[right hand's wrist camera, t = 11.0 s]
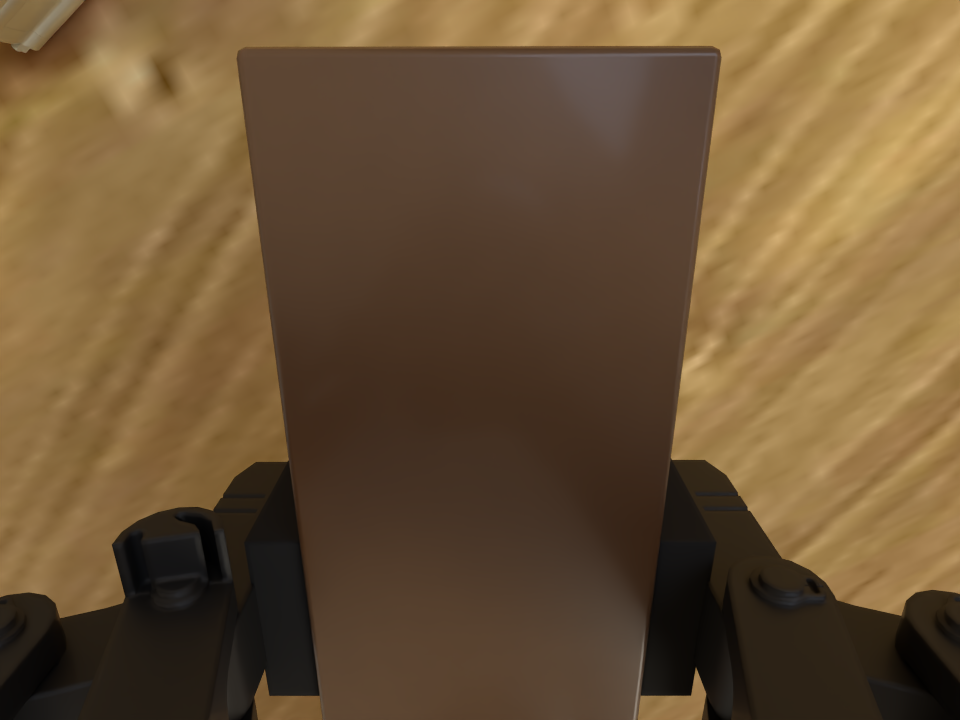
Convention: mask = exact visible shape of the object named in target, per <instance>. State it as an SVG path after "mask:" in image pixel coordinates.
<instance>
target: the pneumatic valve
mask: <svg viewBox="0 0 960 720" xmlns="http://www.w3.org/2000/svg"><path fill="white" fill-rule="evenodd" d="M84 1H85V0H0V42H4V43H11V46H12V47H13V49H15V50H16V51H18V52H21V51H22V52H24V53H26V52H27V51H28V50H29V49H33V50H36V51H38V50H40V48H41V47H42V46H43V45H44V44H45V43H46V42H47V41H48V40H49V39H50V38H51V37H52V36H53V34H54V33H55V32H56V31H57V30H58V29H59V28H60V27H61V26H62V25H63V24H64V23H65V22H66V20H67V19H68V18H69V17H70V16H71V15H72V14H73V13H74V12H75V11H76V10H77V9H78V8H79V6H80V5H81V4H82V3H83V2H84Z"/></svg>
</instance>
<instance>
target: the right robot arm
mask: <svg viewBox="0 0 960 720" xmlns="http://www.w3.org/2000/svg"><path fill="white" fill-rule="evenodd" d="M112 547H113V551H114V555H115V558H116V562H117V566H118V570H119V574H120V578H121V581H122V585H123V589H124V593H125V599H124V602H123V603H122V604H119V605H115V606H112V607H109V608H105V609H100V610H96V611H91V612H87V613H82V614H78V615H73V616H69V617H64V618H60V617H59V614H58V611H57V608H56V604H55V603H54V602H53V601H52V600H51V599H49V598H48V597H47V596H46V595H41V594H35V593H21V594H13V595H6V596H3V597H0V720H258V718H257V711H256V705H255V699H254V696H255V693H256V691H257V688H258V685H259V683H260V680H261V678H262V675H263V672H264V670H265V671H266V677H267V683H268V689H269V695H270V696H320V695H319V687H318V679H317V672H316V664H315V656H314V649H313V641H312V633H311V626H310V618H309V610H308V603H307V595H306V587H305V580H304V572H303V564H302V557H301V549H300V541H299V534H298V526H297V518H296V511H295V503H294V495H293V488H292V480H291V472H290V464H289V461H288V462H256V463H254V464H253V465H251V466H250V467H249V468H247V469H246V470H244V471H243V472H242V473H240V474H239V475H237V476H236V477H235V478H234V479H233V481H232V482H231V484H230V485H229V487H228V488H227V490H226V491H225V493H224V494H223V498H221V499H220V500H219V502H218V503H217V505H216V506H215V508H214V511H211V510H207V509H204V508H200V507H181V508H175V509H170V510H166V511H161V512H157V513H155V514H153V515H150V516H148V517H146V518H143V519H141V520H139V521H137V522H136V523H134V524H133V525H131V526H130V527H128V528H127V529H125V530H124V531H123V532H121V534H120V535H119V536H118V538H117V539H116V540H115V541H114V543H113V544H112ZM695 668H697V670H698V673H699V676H700V678H701V681H702V683H703V686H704V689H705V691H706V699H705V705H704V711H703V716H702V720H960V594H957V593H953V592H945V591H937V590H929V591H923V592H917V593H915V594H914V595H913V596H911V597H910V598H909V599H908V600H907V601H906V603H905V607H904V610H903V613H902V616H899V615H895V614H890V613H885V612H881V611H876V610H872V609H867V608H863V607H858V606H854V605H851V604H847V603H844V602H840V601H837V600H836V598H835V596H834V594H833V593H832V591H831V590H830V589H829V587H828V586H827V584H826V583H825V582H824V581H823V580H822V579H820V578H819V577H818V576H817V575H815V574H814V573H813V572H812V571H810V570H809V569H806V568H804V567H802V566H800V565H798V564H796V563H794V562H792V561H789V560H785V559H782V558H781V556H780V555H779V554H778V552H777V551H776V549H775V548H774V546H773V545H772V543H771V542H770V540H769V539H768V537H767V536H766V534H765V533H764V531H763V530H762V528H761V527H760V525H759V524H758V522H757V521H756V519H755V518H754V516H753V515H752V513H751V512H750V511H748V509H747V506H746V504H745V503H744V501H743V500H742V498H741V497H740V496H738V492H737V491H736V489H735V488H734V486H733V485H732V483H731V482H730V480H729V479H728V477H727V476H726V475H725V474H724V473H722V472H721V471H719V470H718V469H717V468H715V467H714V466H712V465H711V464H710V463H708V462H707V461H705V460H672V459H671V460H670V468H669V475H668V483H667V491H666V499H665V507H664V515H663V523H662V531H661V539H660V547H659V554H658V562H657V570H656V578H655V586H654V594H653V602H652V610H651V618H650V625H649V633H648V641H647V649H646V657H645V665H644V673H643V681H642V689H641V696H691V692H692V686H693V680H694V674H695Z"/></svg>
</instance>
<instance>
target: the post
mask: <svg viewBox="0 0 960 720" xmlns="http://www.w3.org/2000/svg"><path fill="white" fill-rule="evenodd" d="M237 65H238V73H239V81H240V88H241V96H242V104H243V111H244V119H245V127H246V134H247V142H248V150H249V157H250V165H251V173H252V180H253V188H254V196H255V203H256V211H257V219H258V227H259V234H260V242H261V250H262V257H263V265H264V273H265V280H266V288H267V296H268V303H269V311H270V319H271V326H272V334H273V342H274V349H275V357H276V365H277V372H278V380H279V388H280V395H281V403H282V411H283V418H284V426H285V434H286V441H287V449H288V457H289V464H290V472H291V480H292V488H293V495H294V503H295V511H296V518H297V526H298V534H299V541H300V549H301V557H302V564H303V572H304V580H305V587H306V595H307V603H308V610H309V618H310V626H311V633H312V641H313V649H314V656H315V664H316V672H317V679H318V687H319V695H320V702H321V710H322V718H323V720H638V712H639V704H640V697H641V689H642V681H643V673H644V665H645V657H646V649H647V641H648V633H649V625H650V618H651V610H652V602H653V594H654V586H655V578H656V570H657V562H658V554H659V547H660V539H661V531H662V523H663V515H664V507H665V499H666V491H667V483H668V475H669V468H670V460H671V452H672V444H673V436H674V428H675V420H676V412H677V404H678V396H679V389H680V381H681V373H682V365H683V357H684V349H685V341H686V333H687V325H688V317H689V310H690V302H691V294H692V286H693V278H694V270H695V262H696V254H697V246H698V238H699V231H700V223H701V215H702V207H703V199H704V191H705V183H706V175H707V167H708V159H709V152H710V144H711V136H712V128H713V120H714V112H715V104H716V96H717V88H718V80H719V73H720V65H721V54H720V50H719V49H717V48H715V47H713V46H531V47H245V48H243V49H241V50H239V51H238V54H237Z"/></svg>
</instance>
